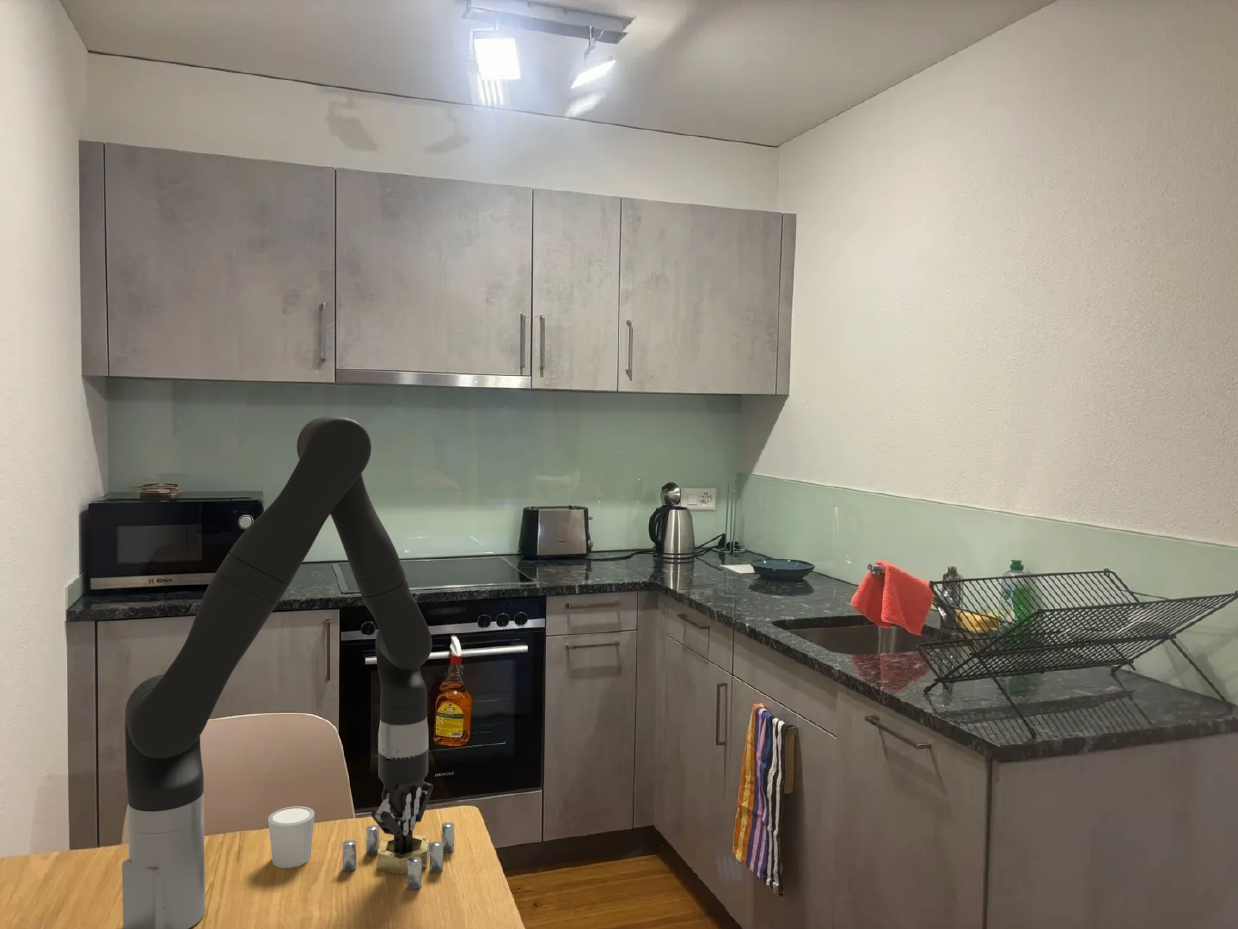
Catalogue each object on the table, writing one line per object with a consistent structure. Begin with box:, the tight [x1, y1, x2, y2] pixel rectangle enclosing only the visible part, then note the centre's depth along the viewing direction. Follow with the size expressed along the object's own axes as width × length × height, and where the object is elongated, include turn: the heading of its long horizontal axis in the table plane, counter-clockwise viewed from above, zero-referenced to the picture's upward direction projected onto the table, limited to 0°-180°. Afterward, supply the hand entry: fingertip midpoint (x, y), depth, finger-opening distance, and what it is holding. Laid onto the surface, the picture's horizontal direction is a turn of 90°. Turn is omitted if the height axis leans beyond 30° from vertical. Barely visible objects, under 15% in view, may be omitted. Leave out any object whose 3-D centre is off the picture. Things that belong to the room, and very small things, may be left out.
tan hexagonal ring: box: [376, 833, 431, 876], centre depth 142 cm, size 7×9×2 cm
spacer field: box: [342, 821, 455, 891], centre depth 142 cm, size 14×14×4 cm
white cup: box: [267, 805, 316, 869], centre depth 142 cm, size 7×7×7 cm
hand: (403, 855), depth 142 cm, fingers closed
